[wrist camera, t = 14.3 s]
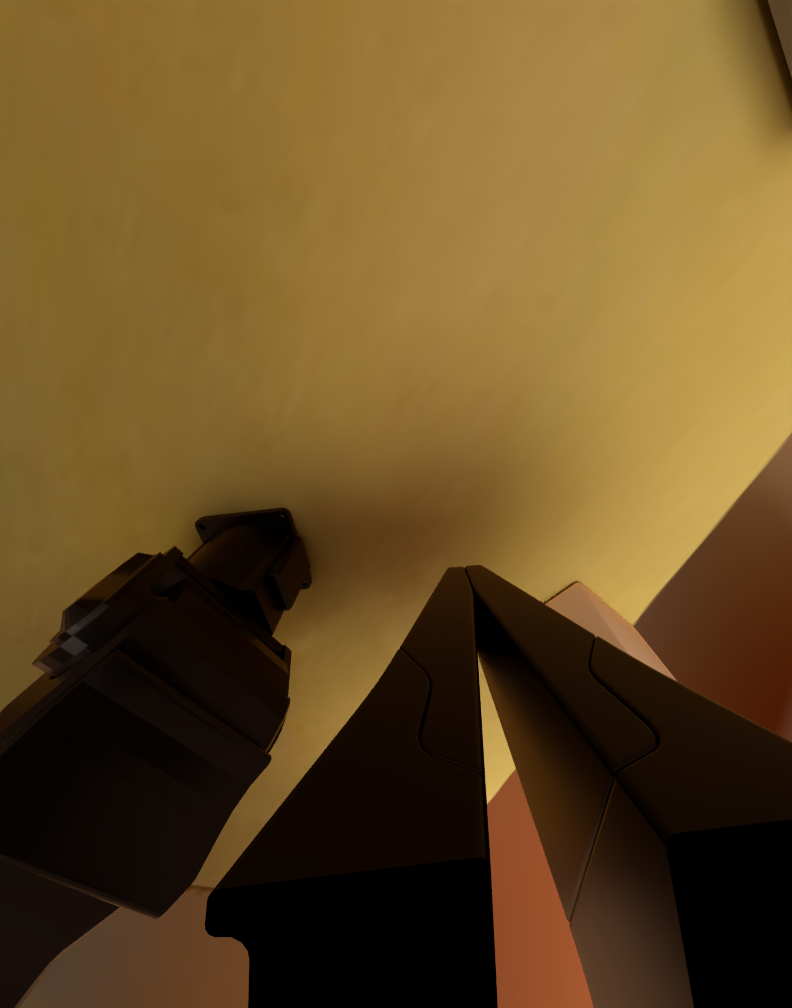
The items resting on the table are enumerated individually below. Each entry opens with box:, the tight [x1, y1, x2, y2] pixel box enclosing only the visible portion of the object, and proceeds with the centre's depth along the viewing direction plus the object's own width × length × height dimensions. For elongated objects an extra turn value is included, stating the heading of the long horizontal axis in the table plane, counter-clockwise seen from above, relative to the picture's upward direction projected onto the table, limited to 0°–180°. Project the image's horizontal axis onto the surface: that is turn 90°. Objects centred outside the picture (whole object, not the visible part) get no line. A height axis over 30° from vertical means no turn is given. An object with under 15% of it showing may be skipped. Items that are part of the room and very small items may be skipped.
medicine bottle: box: [545, 582, 676, 681], centre depth 19 cm, size 7×7×12 cm
